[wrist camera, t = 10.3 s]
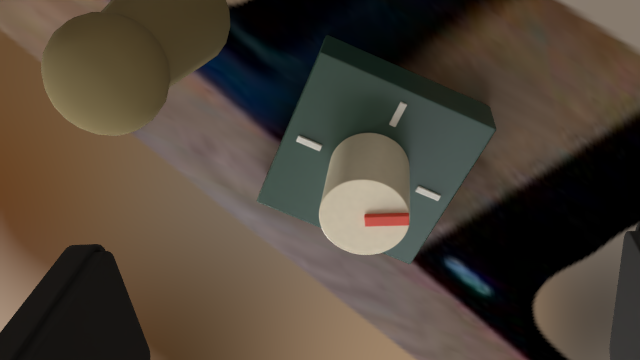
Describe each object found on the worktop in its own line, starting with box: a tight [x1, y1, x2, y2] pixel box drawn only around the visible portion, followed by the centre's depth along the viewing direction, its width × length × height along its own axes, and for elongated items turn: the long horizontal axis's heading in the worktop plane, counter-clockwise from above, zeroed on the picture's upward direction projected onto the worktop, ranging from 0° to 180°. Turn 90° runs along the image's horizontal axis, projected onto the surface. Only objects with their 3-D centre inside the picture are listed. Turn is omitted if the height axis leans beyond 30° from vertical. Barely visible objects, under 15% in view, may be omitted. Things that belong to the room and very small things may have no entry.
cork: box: [41, 0, 230, 136], centre depth 29 cm, size 6×6×11 cm
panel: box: [257, 35, 496, 264], centre depth 35 cm, size 10×10×3 cm
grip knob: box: [319, 133, 410, 255], centre depth 32 cm, size 4×4×5 cm
